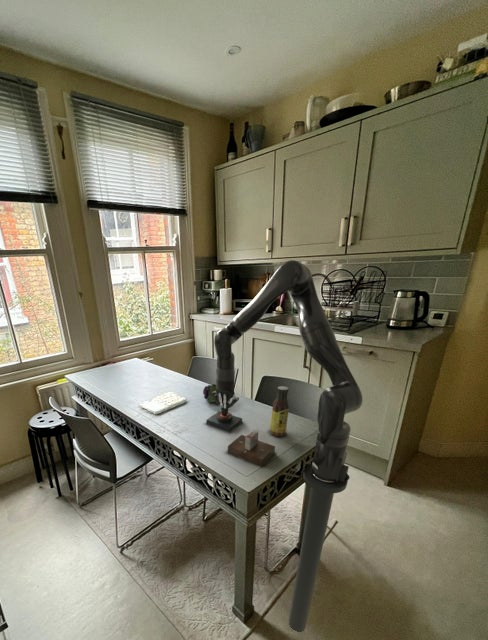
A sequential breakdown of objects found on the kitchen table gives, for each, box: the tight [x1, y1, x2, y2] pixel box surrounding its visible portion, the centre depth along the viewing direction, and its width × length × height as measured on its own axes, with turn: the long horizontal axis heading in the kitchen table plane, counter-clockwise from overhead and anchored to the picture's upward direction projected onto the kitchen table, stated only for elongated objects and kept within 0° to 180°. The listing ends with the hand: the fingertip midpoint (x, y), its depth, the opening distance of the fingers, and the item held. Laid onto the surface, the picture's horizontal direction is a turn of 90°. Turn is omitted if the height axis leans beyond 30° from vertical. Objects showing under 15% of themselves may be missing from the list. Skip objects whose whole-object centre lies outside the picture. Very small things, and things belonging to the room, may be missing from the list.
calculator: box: [139, 391, 187, 415], centre depth 156 cm, size 13×20×2 cm, turn 132°
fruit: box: [202, 383, 216, 403], centre depth 156 cm, size 10×11×15 cm
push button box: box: [205, 410, 243, 433], centre depth 137 cm, size 12×10×4 cm
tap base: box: [227, 434, 276, 467], centre depth 116 cm, size 14×10×3 cm
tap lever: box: [245, 429, 259, 451], centre depth 114 cm, size 6×2×5 cm, turn 141°
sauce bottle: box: [269, 385, 290, 437], centre depth 125 cm, size 7×6×20 cm
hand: (224, 414), depth 136 cm, fingers closed
